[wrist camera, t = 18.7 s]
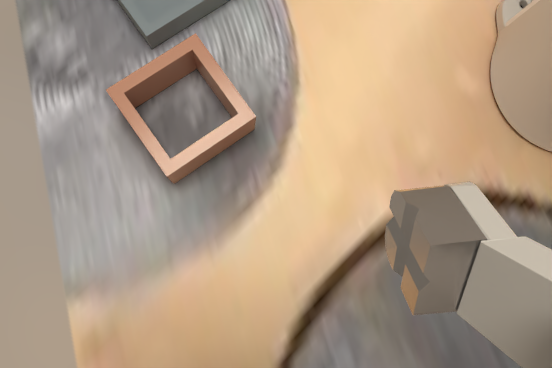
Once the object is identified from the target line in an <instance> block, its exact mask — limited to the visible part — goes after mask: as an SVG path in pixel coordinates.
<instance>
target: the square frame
mask: <svg viewBox="0 0 552 368" xmlns="http://www.w3.org/2000/svg"><path fill="white" fill-rule="evenodd" d="M195 69H197V70H198V71H199V73H200V74H201V75H202V77H203V78H204V79H205V81H206V82H207V84H208V85H209V86H210V88H211V89H212V90H213V92H214V93H215V95H216V96H217V97H218V99H219V100H220V102H221V103H222V104H223V106H224V107H225V108H226V110H227V111H228V113H229V114H230V115H231V117H232V118H231V119H230V120H228V121H227V122H225V123H224V124H222V125H221V126H219V127H218V128H216V129H215V130H213V131H212V132H210V133H209V134H207V135H206V136H204V137H203V138H201V139H200V140H198V141H197V142H195V143H194V144H192V145H191V146H189V147H188V148H186V149H185V150H183V151H182V152H180V153H179V154H177V155H176V156H174V157H173V158H171V159H170V157H169V156H168V155H167V153H166V152H165V150H164V149H163V147H162V146H161V145H160V143H159V142H158V140H157V139H156V138H155V136H154V135H153V133H152V132H151V130H150V129H149V128H148V126H147V125H146V123H145V122H144V121H143V119H142V118H141V116H140V115H139V113H138V112H137V111H136V109H135V108H136V107H138V106H139V105H141V104H142V103H144V102H146V101H147V100H149V99H150V98H152V97H153V96H155V95H156V94H158V93H160V92H161V91H163V90H164V89H166V88H167V87H169V86H171V85H172V84H174V83H175V82H177V81H178V80H180V79H181V78H183V77H185V76H186V75H188V74H189V73H191V72H192V71H194V70H195ZM106 91H107V92H108V94H109V95H110V96H111V98H112V99H113V101H114V102H115V104H116V105H117V106H118V108H119V109H120V111H121V112H122V114H123V115H124V116H125V118H126V119H127V121H128V122H129V123H130V125H131V126H132V128H133V129H134V131H135V132H136V133H137V135H138V136H139V138H140V139H141V141H142V142H143V143H144V145H145V146H146V148H147V149H148V151H149V152H150V153H151V155H152V156H153V158H154V159H155V161H156V162H157V163H158V165H159V166H160V168H161V169H162V170H163V172H164V173H165V175H166V176H167V177H168V178H169V179H170V181H171V182H172V183H173V184H175V183H176V182H178V181H179V180H181V179H182V178H184V177H185V176H187V175H188V174H190V173H191V172H193V171H194V170H195V169H197V168H198V167H200V166H201V165H203V164H204V163H206V162H207V161H209V160H210V159H212V158H213V157H215V156H216V155H218V154H219V153H221V152H222V151H223V150H225V149H226V148H228V147H229V146H231V145H232V144H234V143H235V142H237V141H238V140H240V139H241V138H243V137H244V136H246V135H247V134H249V133H250V132H251V131H253V130H254V129H255V121H256V116H255V115H254V113H253V112H252V110H251V109H250V108H249V106H248V105H247V104H246V102H245V101H244V99H243V98H242V97H241V95H240V94H239V93H238V91H237V90H236V88H235V87H234V86H233V84H232V83H231V82H230V80H229V79H228V77H227V76H226V75H225V73H224V72H223V71H222V69H221V68H220V66H219V65H218V64H217V62H216V61H215V60H214V58H213V57H212V55H211V54H210V53H209V51H208V50H207V49H206V47H205V46H204V44H203V43H202V42H201V40H200V39H199V38H198V36H197V35H196V33H195V34H194V35H192V36H191V37H189V38H188V39H186V40H184V41H183V42H181V43H180V44H178V45H176V46H175V47H173V48H172V49H170V50H168V51H167V52H165V53H164V54H162V55H160V56H159V57H157V58H156V59H154V60H152V61H151V62H149V63H148V64H146V65H145V66H143V67H141V68H140V69H138V70H137V71H135V72H133V73H132V74H130V75H129V76H127V77H125V78H124V79H122V80H121V81H119V82H117V83H116V84H114V85H113V86H111V87H109V88H108V89H106Z"/></svg>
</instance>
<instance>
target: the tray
mask: <svg viewBox="0 0 552 368" xmlns="http://www.w3.org/2000/svg"><path fill="white" fill-rule="evenodd" d="M117 1H118V2H119V4H120V5H121V7H122V8H123V9H124V11H125V12H126V14H127V15H128V16H129V18H130V19H131V21H132V22H133V23H134V25H135V26H136V28H137V29H138V30H139V32H140V33H141V35H142V36H143V37H144V39H145V40H146V42H147V43H148V44H149V46H150V47H151V49H153V48H154V47H156V46H157V45H159V44H161V43H162V42H164V41H165V40H167V39H169V38H170V37H172V36H173V35H175V34H177V33H178V32H180V31H181V30H183V29H185V28H186V27H188V26H189V25H191V24H193V23H194V22H196V21H197V20H199V19H201V18H202V17H204V16H206V15H207V14H209V13H210V12H212V11H214V10H215V9H217V8H218V7H220V6H222V5H223V4H225V3H226V2H228V1H230V0H117Z"/></svg>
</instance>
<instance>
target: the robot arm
mask: <svg viewBox="0 0 552 368" xmlns="http://www.w3.org/2000/svg"><path fill="white" fill-rule="evenodd" d="M519 4H520V5H522V6H523V8H521V7H520V6H519ZM496 21H497V29H498V38H497V42H496V45H495V48H494V51H493V55H492V60H491V69H490V76H491V84H492V89H493V93H494V97H495V99H496V102H497V104H498V106H499V108H500V110H501V112H502V114H503V115H504V117H505V118H506V120H507V121H508V122H509V123H510V125H511V126H512V127H513V128H514V129H515V130H516V131H517V132H518V133H519V134H520V135H522V136H523V137H524V138H525V139H527V140H528V141H530V142H531V143H533V144H535V145H537V146H539V147H541V148H543V149H545V150H548V151H551V152H552V0H504V1H502V2H501V3H500V4H499V5H498V7H497V10H496ZM390 209H391V211H392V213H393V215H394V217H393V218H392V219H391V220H390V221H389V222H388V223H387V225H386V233H385V243H386V252H387V256H388V259H389V262H390V264H391V267H392V269H393V271H395V272H396V273H398V274H399V275H401V276H402V277H403V278H402V283H401V290H402V292H403V294H404V296H405V299H406V301H407V303H408V305H409V307H410V310H411V312H412V314H413V315H423V314H433V313H444V312H455V311H457V314H458V315H459V316H460V317H462V318H463V319H464V320H465V321H466V322H468V323H469V324H470V325H471V326H472V327H474V328H475V329H476V330H477V331H478V332H480V333H481V334H482V335H483V336H485V337H486V338H487V339H488V340H489V341H491V342H492V343H493V344H494V345H495V346H497V347H498V348H499V349H500V350H502V351H503V352H504V353H505V354H506V355H508V356H509V357H510V358H511V359H512V360H514V361H515V362H516V363H517V364H518V365H520V366H521V367H522V368H552V250H551V249H549V248H547V247H545V246H543V245H541V244H539V243H538V242H536V241H534V240H532V239H530V238H528V237H526V236H525V237H517V236H516V235H515V233H514V232H513V231H512V230H511V228H510V227H509V226H508V225H507V223H506V222H505V221H504V220H503V218H502V217H501V216H500V215H499V213H498V212H497V211H496V210H495V208H494V207H493V206H492V205H491V203H490V202H489V201H488V199H487V198H486V197H485V196H484V194H483V193H482V192H481V191H480V189H479V188H478V187H477V186H476V185H475V184H473V183H471V182H463V183H455V184H446V185H444V186H434V187H424V188H414V189H404V190H394V192H393V194H392V196H391V201H390Z"/></svg>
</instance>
